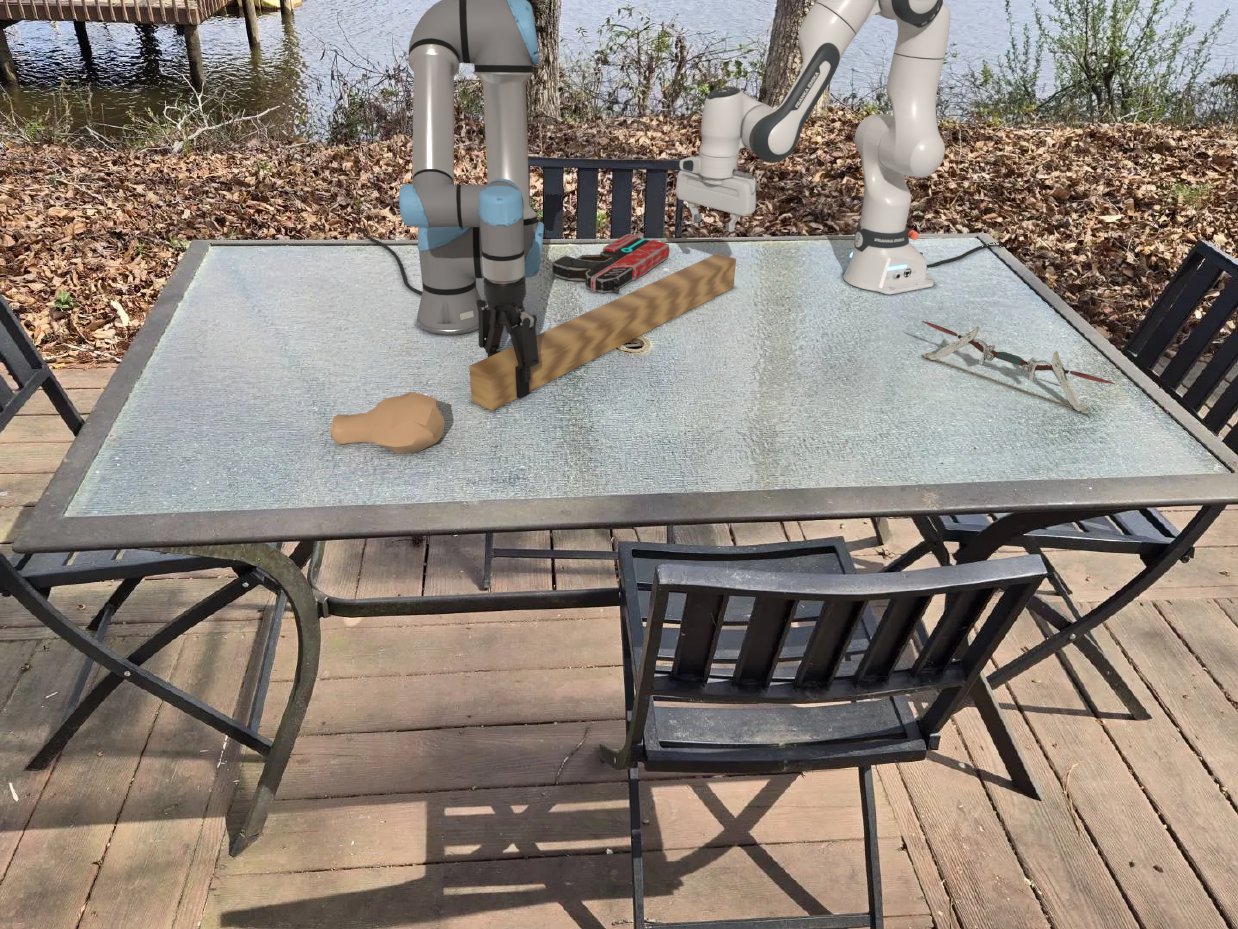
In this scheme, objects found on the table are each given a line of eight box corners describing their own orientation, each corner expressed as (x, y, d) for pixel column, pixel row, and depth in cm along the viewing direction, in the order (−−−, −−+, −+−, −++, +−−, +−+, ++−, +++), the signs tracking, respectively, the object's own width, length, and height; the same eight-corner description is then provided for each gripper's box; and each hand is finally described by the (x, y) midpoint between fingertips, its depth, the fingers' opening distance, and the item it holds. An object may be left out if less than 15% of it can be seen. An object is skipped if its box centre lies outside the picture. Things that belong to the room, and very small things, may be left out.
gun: (545, 262, 216) (612, 281, 208) (611, 226, 238) (673, 242, 230) (545, 280, 218) (612, 299, 211) (610, 242, 240) (672, 258, 233)
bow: (1102, 416, 168) (1120, 369, 163) (1099, 419, 167) (1116, 372, 162) (916, 351, 190) (927, 308, 184) (912, 354, 189) (923, 311, 183)
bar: (491, 411, 165) (489, 375, 160) (471, 401, 168) (468, 365, 163) (733, 288, 218) (736, 258, 213) (714, 282, 220) (717, 253, 216)
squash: (445, 460, 150) (431, 421, 144) (332, 469, 152) (314, 430, 146) (454, 419, 158) (441, 380, 152) (346, 428, 160) (330, 389, 154)
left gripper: (558, 284, 155) (559, 398, 168) (482, 257, 165) (489, 366, 178) (528, 297, 150) (532, 413, 163) (452, 268, 160) (461, 379, 173)
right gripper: (764, 172, 194) (757, 233, 201) (689, 154, 204) (686, 213, 212) (749, 177, 190) (742, 239, 197) (673, 159, 200) (670, 219, 208)
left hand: (510, 388), depth 171 cm, fingers open, 6 cm apart
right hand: (712, 226), depth 205 cm, fingers open, 8 cm apart
